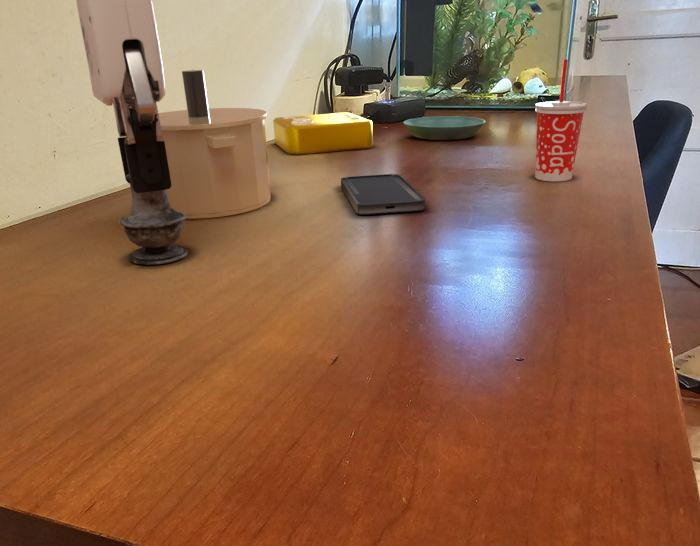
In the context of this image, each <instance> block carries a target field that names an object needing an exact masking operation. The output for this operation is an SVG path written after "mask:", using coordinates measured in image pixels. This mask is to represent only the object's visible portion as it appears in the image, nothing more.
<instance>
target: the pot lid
mask: <svg viewBox="0 0 700 546" xmlns="http://www.w3.org/2000/svg"><path fill="white" fill-rule="evenodd" d="M181 75H182V76H181V77H182V82H183V90H184V95H185V96H184V97H185V104H186V109H183V110H173V111H165V112H164V111H163V112H158V114H159V120H160V125H161V130H162V131H182V130H201V129H213V128H223V127H231V126H238V125H245V124H250V123H255V122H258V121H262V120H264V121H265V120H266V119H267V118H268V112H267V111H266V110H263V109H260V108H259V109H258V108H250V107H249V108H248V107H243V108H242V107H216V108H215V107H213V108H209V101H208V100H209V99H208V92H207V84H206V78H205V77H206V76H205V71H204V69H190V70H189V69H188V70H182V71H181Z"/></svg>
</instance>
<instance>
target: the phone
mask: <svg viewBox="0 0 700 546" xmlns="http://www.w3.org/2000/svg"><path fill="white" fill-rule="evenodd" d="M340 188H341V190H342V192H343V194H344V195H345V197H346V199H347V200H348V202H349V204H350V205H351V207H352V209H353V210H354V212H355V214H358V215H362V216H368V215H369V216H370V215H382V214H397V213H409V212H421V211H424V210H425V209H426V198H425V197H424V195H422V194H421V193H420V191H418V190H417V189H416V188H415V187H414V186H413V185H412V184H411V183H410V182H409V181H408V180H406V178H404V177H403V176H402V175H401V174H398V173H385V174H384V173H383V174H370V175H356V176H355V175H353V176H344V177H341V178H340Z"/></svg>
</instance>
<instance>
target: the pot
mask: <svg viewBox="0 0 700 546" xmlns="http://www.w3.org/2000/svg"><path fill="white" fill-rule="evenodd" d="M265 125H266V124H265V119H264V120H262V121H258V122H255V123H250V124H245V125H238V126H231V127H223V128H213V129H201V130H182V131H162V136H163V140H164V142H165V148H166V154H167V160H168V166H169V172H170V179H171V188H170V189H167V190H166V193H167V198H168V201H169V203H170V206H171V208H173V209H174V210H175V211H179V212H182V213H184V214H185V215H186V218H185V220H189V219H190V220H194V219H195V220H196V219H197V220H198V219H211V218H212V219H213V218H220V217H221V218H222V217H229V216H234V215H239V214H243V213H248V212H251V211H254V210H257V209H260V208H262V207H264V206H266V205H268V204H269V203H270V202H271V200H272V199H271V198H272V197H271V193H272V188H271V180H270V179H271V178H270V167H269V156H268V146H267V137H266V126H265Z"/></svg>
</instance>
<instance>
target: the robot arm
mask: <svg viewBox="0 0 700 546" xmlns="http://www.w3.org/2000/svg"><path fill="white" fill-rule="evenodd" d="M76 7H77V13H78V19H79V24H80V29H81V35H82V40H83V44H84V51H85V56H86V61H87V67H88V72H89V79H90V84H91V85H90V86H91V91H92V95H93V97H94V98H95V99H97V100H98V101H99V102H101V103H103V104H104V105H105V106H108V107H109V106H113V109H114V110H113V112H114V118H115V122H116V123H115V124H116V128H117V129H116V130H117V133H118V136H119V137H117V143H118V147H119V153H120V158H121V164H122V169H123V173H124V178H125V176H126V175H127V174H129V171H130V177H131V182H132V187H133V190H134V191H135V192H136V193H144V192H151V191H159V190H167V189H170V188H171V179H170V172H169V166H168V160H167V154H166V148H165V142H164V140H163V136H162V130H161V125H160V120H159V114H158V113H159V109H158V104H157V103H159V102H161V101H162V100H163V99H164V97H166V80H165V71H164V64H163V58H162V51H161V45H160V38H159V33H158V32H159V31H158V26H157V20H156V15H155V10H154V9H155V8H154V3H153V0H76ZM126 137H127V141H128V144H124V140H125V138H126ZM125 150H126V152H125ZM126 156H127V158H126ZM127 161H128V164H127ZM128 166H129V170H128ZM124 180H125V181H126V182H127V183H128V185H130V181H129V180H128V179H126V178H125V179H124Z"/></svg>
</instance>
